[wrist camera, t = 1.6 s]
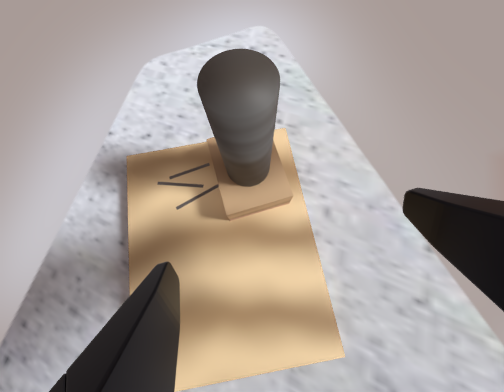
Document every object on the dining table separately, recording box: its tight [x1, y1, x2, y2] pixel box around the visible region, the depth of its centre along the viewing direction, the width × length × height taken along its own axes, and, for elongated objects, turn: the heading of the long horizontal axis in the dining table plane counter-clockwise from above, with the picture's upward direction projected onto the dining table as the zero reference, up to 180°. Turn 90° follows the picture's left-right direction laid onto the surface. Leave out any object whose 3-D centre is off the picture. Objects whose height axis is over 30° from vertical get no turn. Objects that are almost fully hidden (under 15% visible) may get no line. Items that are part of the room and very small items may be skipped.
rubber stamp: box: [197, 49, 293, 221], centre depth 15 cm, size 7×6×12 cm
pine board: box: [127, 128, 345, 392], centre depth 20 cm, size 20×16×2 cm
